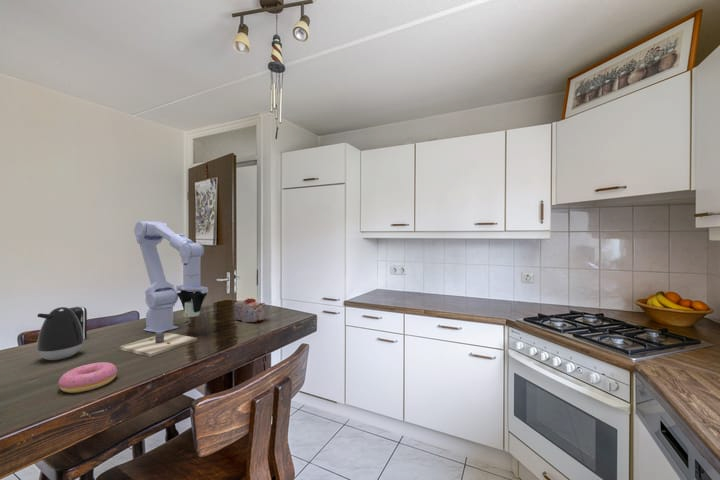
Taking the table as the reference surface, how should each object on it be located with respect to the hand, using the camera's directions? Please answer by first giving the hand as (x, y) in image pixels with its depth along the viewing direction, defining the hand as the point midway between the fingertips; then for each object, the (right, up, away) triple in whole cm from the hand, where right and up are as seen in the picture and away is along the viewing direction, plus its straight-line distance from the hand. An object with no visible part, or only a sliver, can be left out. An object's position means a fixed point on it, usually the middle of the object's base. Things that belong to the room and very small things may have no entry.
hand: (192, 311), depth 114 cm
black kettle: (-28, -9, -22) cm, 37 cm away
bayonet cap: (0, -2, 0) cm, 2 cm away
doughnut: (-4, -9, -39) cm, 40 cm away
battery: (-39, -9, -5) cm, 41 cm away
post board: (-5, -9, -11) cm, 15 cm away
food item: (+14, -9, +20) cm, 26 cm away
